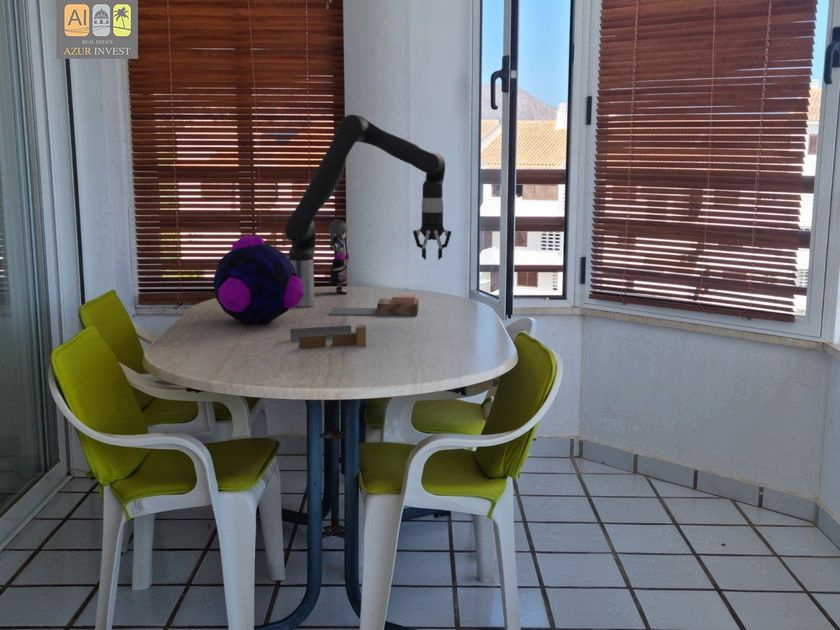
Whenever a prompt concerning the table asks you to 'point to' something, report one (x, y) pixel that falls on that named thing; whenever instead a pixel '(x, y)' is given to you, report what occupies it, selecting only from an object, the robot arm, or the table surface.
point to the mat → (353, 311)
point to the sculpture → (256, 282)
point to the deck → (397, 307)
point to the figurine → (338, 255)
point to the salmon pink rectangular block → (403, 299)
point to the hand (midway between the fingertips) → (432, 259)
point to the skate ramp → (329, 336)
